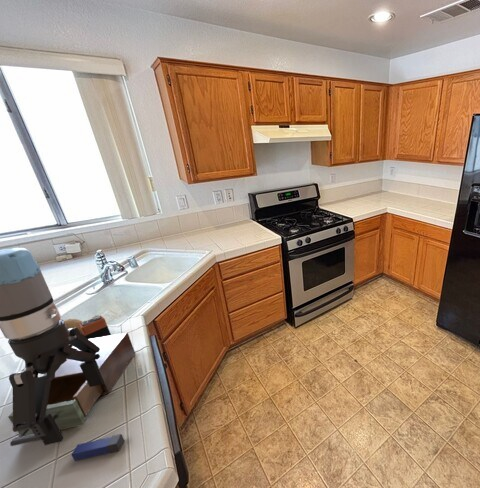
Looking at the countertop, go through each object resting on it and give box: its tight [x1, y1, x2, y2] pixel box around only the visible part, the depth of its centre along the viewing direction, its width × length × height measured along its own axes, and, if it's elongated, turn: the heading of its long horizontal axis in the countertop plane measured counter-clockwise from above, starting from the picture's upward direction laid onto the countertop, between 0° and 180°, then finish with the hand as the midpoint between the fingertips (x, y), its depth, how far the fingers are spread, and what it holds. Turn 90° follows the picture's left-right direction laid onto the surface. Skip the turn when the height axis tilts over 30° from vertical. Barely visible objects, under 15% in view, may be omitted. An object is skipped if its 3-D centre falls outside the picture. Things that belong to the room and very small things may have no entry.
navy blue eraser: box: [71, 433, 125, 462], centre depth 61 cm, size 9×2×2 cm, turn 102°
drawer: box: [7, 374, 104, 447], centre depth 69 cm, size 21×13×7 cm, turn 12°
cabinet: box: [42, 332, 136, 396], centre depth 81 cm, size 17×15×9 cm
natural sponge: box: [63, 318, 83, 345], centre depth 98 cm, size 9×9×10 cm
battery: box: [79, 314, 112, 339], centre depth 98 cm, size 4×7×10 cm, turn 144°
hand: (78, 409), depth 57 cm, fingers open, 13 cm apart
